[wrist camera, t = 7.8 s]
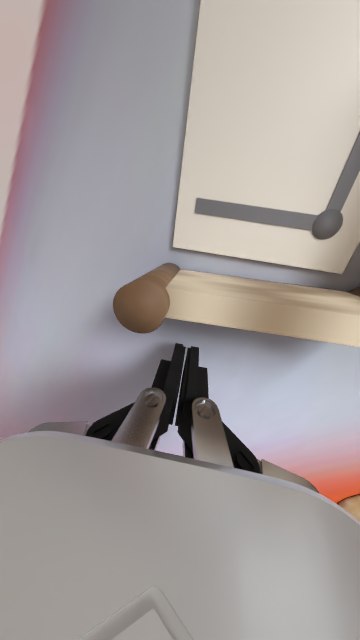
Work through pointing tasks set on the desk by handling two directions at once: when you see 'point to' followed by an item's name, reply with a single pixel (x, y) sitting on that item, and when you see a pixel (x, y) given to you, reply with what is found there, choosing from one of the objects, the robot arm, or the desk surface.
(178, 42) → the desk surface
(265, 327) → the fence panel
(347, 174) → the card
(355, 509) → the hand bell
